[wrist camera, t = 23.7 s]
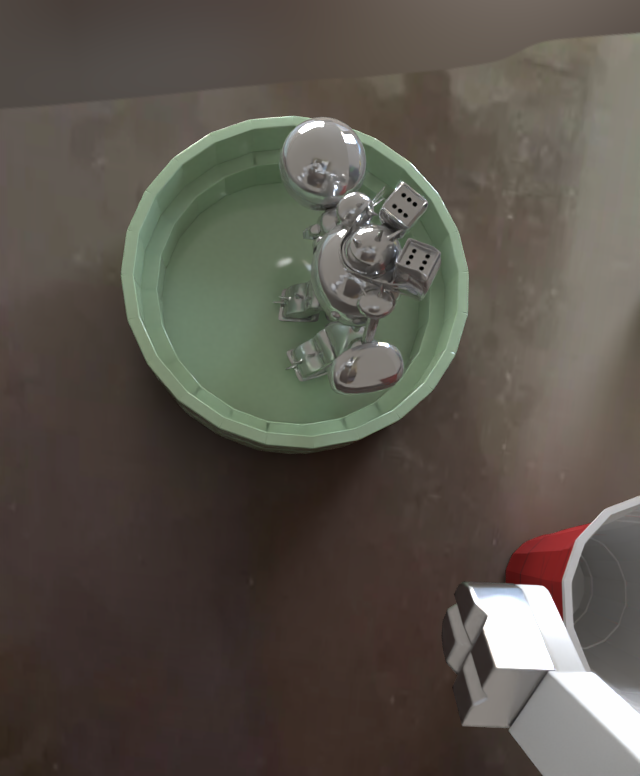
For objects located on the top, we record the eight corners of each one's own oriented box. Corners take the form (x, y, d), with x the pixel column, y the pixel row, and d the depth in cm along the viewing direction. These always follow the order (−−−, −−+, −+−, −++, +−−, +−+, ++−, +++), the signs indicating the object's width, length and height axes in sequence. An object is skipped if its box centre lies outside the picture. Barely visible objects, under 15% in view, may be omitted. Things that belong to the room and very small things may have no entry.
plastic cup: (602, 486, 40) (753, 481, 28) (635, 651, 38) (810, 719, 26) (454, 504, 38) (549, 508, 27) (480, 678, 36) (595, 764, 25)
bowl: (118, 440, 36) (98, 431, 31) (158, 147, 40) (146, 93, 35) (434, 465, 39) (465, 460, 33) (442, 187, 42) (471, 142, 37)
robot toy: (253, 212, 39) (263, 44, 25) (340, 201, 40) (399, 34, 26) (295, 423, 37) (333, 376, 23) (386, 406, 38) (479, 350, 24)
